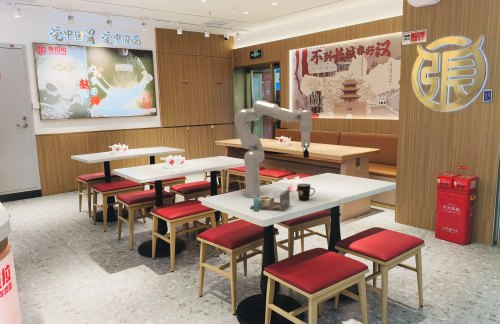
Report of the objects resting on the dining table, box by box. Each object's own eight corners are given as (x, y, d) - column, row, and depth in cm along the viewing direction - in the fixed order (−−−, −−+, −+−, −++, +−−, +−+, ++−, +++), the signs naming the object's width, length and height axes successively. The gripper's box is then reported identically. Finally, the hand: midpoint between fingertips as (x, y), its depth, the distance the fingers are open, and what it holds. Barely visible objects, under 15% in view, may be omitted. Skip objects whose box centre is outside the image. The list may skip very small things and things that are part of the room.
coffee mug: (294, 199, 249) (294, 184, 248) (306, 197, 252) (305, 183, 251) (304, 203, 238) (304, 187, 237) (315, 201, 242) (315, 186, 240)
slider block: (255, 206, 230) (255, 199, 229) (260, 202, 238) (260, 196, 238) (269, 207, 227) (269, 200, 226) (274, 203, 235) (274, 196, 234)
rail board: (250, 209, 229) (249, 192, 228) (257, 203, 241) (257, 188, 240) (283, 211, 222) (283, 194, 220) (289, 205, 234) (289, 189, 232)
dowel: (253, 211, 224) (252, 198, 223) (255, 209, 227) (254, 196, 226) (257, 211, 223) (257, 198, 222) (259, 210, 226) (259, 197, 225)
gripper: (299, 129, 248) (299, 155, 250) (300, 130, 231) (300, 158, 233) (311, 128, 247) (311, 154, 249) (312, 130, 230) (312, 158, 232)
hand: (306, 156), depth 241 cm, fingers open, 9 cm apart
